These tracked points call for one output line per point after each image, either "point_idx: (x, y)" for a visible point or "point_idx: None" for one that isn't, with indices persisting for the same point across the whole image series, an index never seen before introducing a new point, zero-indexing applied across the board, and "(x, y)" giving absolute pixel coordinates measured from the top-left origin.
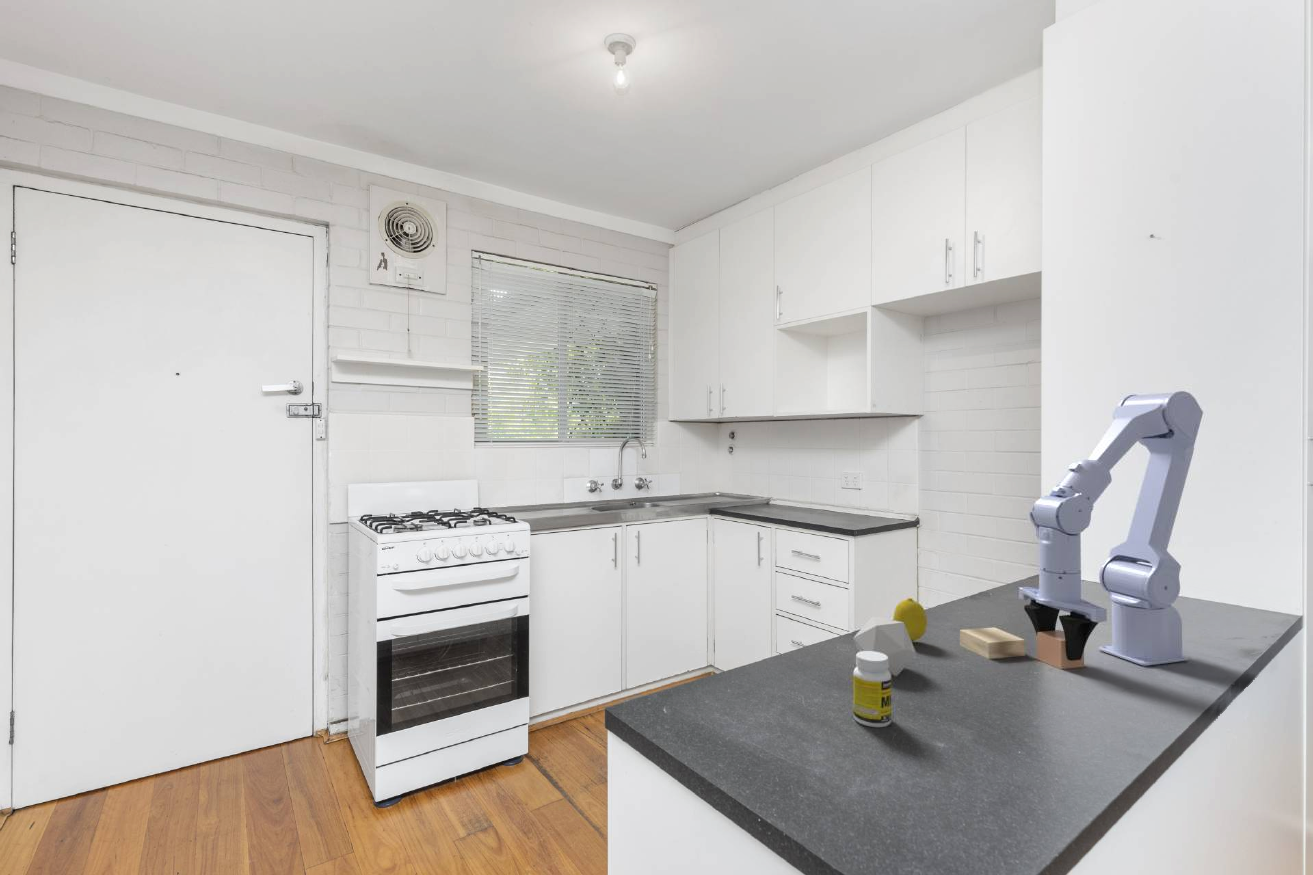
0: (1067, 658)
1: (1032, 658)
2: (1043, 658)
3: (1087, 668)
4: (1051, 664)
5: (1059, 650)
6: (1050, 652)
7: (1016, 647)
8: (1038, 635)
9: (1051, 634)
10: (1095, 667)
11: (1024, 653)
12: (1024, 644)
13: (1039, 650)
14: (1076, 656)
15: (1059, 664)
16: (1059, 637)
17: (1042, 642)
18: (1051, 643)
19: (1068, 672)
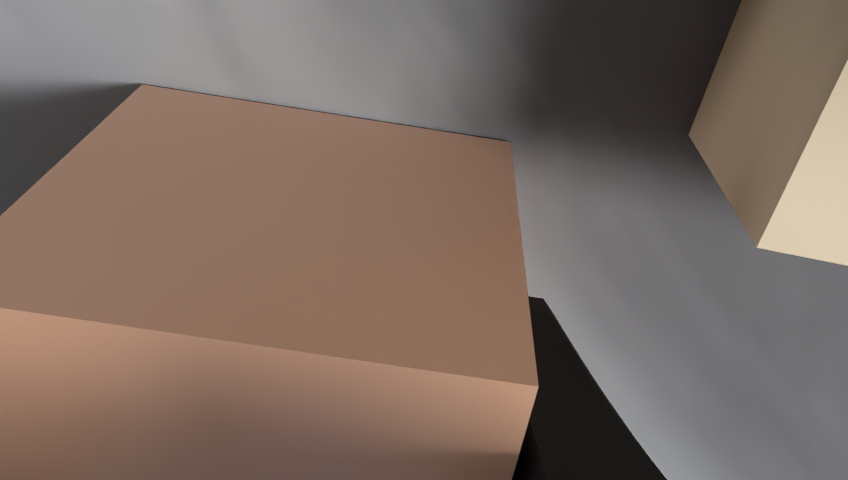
0: None
1: (567, 121)
2: (410, 143)
3: None
4: (292, 113)
5: (61, 196)
6: (267, 180)
7: (788, 40)
8: (500, 338)
9: (308, 469)
10: None
11: (698, 141)
12: (736, 201)
13: (480, 198)
14: None
15: (148, 106)
16: (115, 438)
17: (413, 265)
18: (202, 256)
19: (33, 63)
